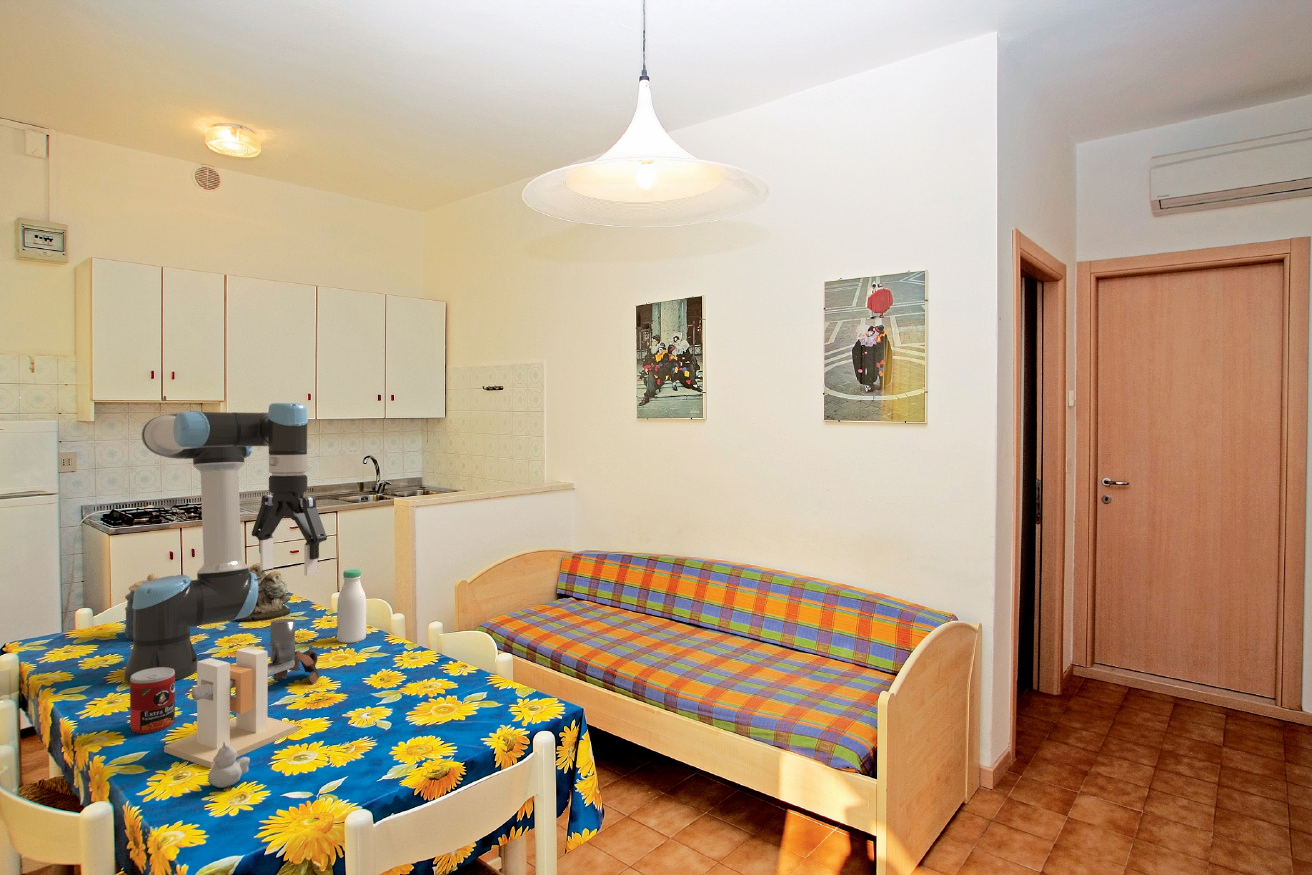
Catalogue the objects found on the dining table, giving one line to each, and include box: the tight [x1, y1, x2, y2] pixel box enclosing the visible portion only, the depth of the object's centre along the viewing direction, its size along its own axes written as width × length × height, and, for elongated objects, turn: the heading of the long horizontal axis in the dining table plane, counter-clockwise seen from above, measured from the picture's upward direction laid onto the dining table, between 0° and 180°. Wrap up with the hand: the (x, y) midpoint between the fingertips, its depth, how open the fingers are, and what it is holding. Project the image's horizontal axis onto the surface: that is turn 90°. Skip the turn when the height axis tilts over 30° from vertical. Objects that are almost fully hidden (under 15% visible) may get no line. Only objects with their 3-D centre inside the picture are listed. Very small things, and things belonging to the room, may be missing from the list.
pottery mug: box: [272, 649, 320, 685], centre depth 179 cm, size 12×10×8 cm
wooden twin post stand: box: [163, 646, 298, 770], centre depth 145 cm, size 14×18×17 cm
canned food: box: [129, 667, 176, 734], centre depth 152 cm, size 8×8×11 cm
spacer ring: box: [230, 663, 253, 714], centre depth 145 cm, size 8×2×8 cm, turn 65°
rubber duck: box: [207, 742, 251, 789], centre depth 129 cm, size 5×7×8 cm
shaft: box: [191, 618, 296, 701], centre depth 148 cm, size 21×5×10 cm, turn 155°
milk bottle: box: [336, 568, 367, 644], centre depth 211 cm, size 8×8×20 cm
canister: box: [124, 573, 159, 641], centre depth 212 cm, size 13×13×18 cm
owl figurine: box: [232, 562, 292, 623], centre depth 233 cm, size 18×12×17 cm, turn 131°
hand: (288, 571), depth 160 cm, fingers open, 13 cm apart
